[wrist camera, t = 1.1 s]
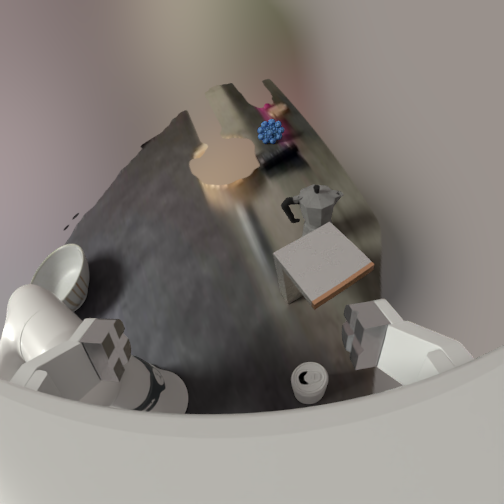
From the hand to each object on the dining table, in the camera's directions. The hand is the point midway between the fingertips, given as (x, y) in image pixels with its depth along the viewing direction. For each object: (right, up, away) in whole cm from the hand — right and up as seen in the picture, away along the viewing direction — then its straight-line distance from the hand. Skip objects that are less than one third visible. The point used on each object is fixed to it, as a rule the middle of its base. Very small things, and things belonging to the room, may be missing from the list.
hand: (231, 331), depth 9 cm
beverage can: (+12, -25, +41) cm, 50 cm away
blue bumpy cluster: (+10, +50, +105) cm, 116 cm away
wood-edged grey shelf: (+17, -9, +54) cm, 57 cm away
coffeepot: (+18, +6, +66) cm, 69 cm away
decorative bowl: (-59, -13, +70) cm, 92 cm away
